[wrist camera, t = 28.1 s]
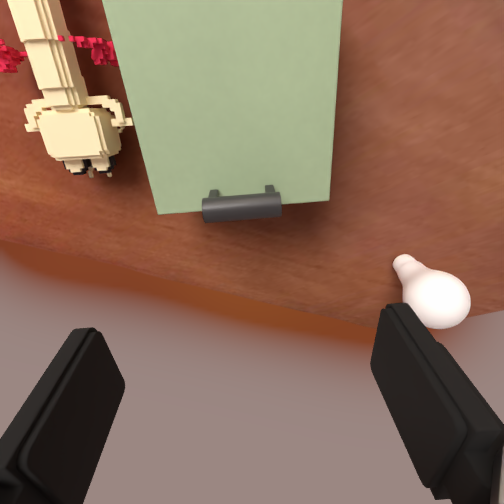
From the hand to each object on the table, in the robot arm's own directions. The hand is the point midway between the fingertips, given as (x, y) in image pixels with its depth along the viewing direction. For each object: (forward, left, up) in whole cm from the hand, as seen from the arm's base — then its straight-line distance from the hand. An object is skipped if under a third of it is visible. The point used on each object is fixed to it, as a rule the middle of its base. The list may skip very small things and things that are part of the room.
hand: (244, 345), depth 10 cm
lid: (-6, 0, -17) cm, 18 cm away
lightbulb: (+14, +19, -24) cm, 34 cm away
